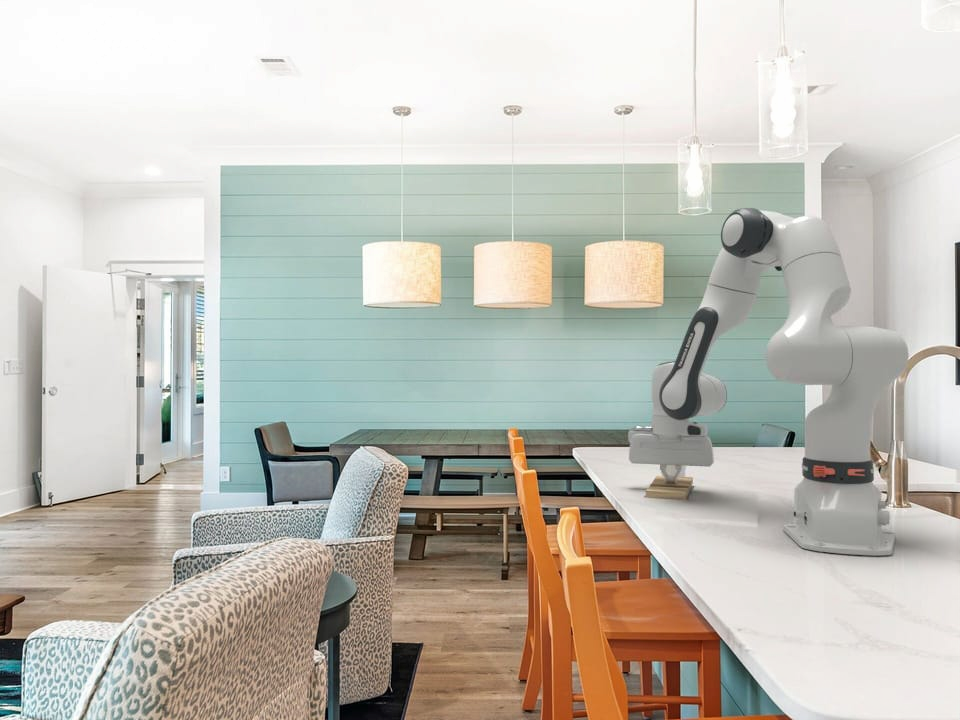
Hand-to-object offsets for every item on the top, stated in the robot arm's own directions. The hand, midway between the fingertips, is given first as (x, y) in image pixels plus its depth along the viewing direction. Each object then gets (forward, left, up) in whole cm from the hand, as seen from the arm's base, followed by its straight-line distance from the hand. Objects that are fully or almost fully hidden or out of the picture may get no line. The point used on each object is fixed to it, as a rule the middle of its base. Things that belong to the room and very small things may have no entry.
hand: (671, 483), depth 179 cm
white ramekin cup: (+15, +1, -3) cm, 15 cm away
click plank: (+2, 0, -1) cm, 3 cm away
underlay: (-1, 0, -3) cm, 3 cm away
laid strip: (-8, 0, -3) cm, 8 cm away
